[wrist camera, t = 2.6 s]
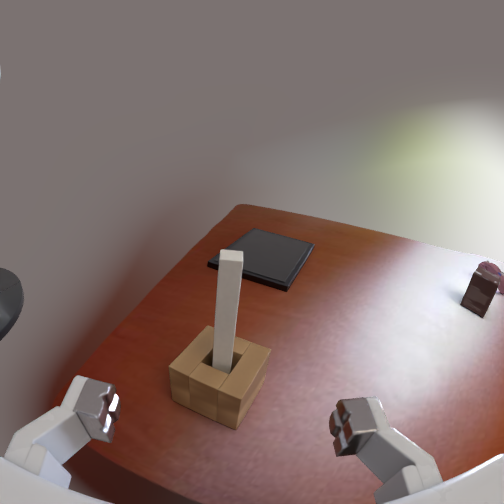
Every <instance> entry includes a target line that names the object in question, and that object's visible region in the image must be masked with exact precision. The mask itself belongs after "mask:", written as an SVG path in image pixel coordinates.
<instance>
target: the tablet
mask: <svg viewBox="0 0 504 504" xmlns="http://www.w3.org/2000/svg"><path fill="white" fill-rule="evenodd" d="M313 248H314V244H312V243H308V242H304V241H301V240H297V239H293V238H290V237H286V236H282V235H278V234H274V233H271V232H267V231H263V230H259V229H255V228H253V229H252V230H250V231H249V232H248V233H246V234H245V235H244V236H242V237H241V238H239V239H238V240H237V241H235V242H234V243H232V244H231V245H230V246H228V247H227V248H226V249H224V250H234V251H243V268H242V277H241V278H245V279H248V280H251V281H254V282H257V283H260V284H263V285H267V286H270V287H273V288H276V289H279V290H283V291H286V292H287V291H288V289H289V287H290V286H291V284H292V283H293V281H294V279H295V278H296V276H297V275H298V273H299V271H300V270H301V268H302V266H303V265H304V263H305V262H306V260H307V258H308V257H309V255H310V253H311V252H312V250H313ZM219 258H220V253H219V254H217V255H216V256H215V257H213V258H212V259H211V260H209V261H208V267H211V268H214V269H217V270H218V269H219Z"/></svg>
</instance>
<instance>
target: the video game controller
mask: <svg viewBox="0 0 504 504" xmlns="http://www.w3.org/2000/svg"><path fill="white" fill-rule="evenodd" d="M479 266H480V267H482V268H484V269H486V270H487V271H489V272H491V273H493V274H495V275H496V276H498V277H500V278H501V280H500V282H499V285H498V289H499V291H500V293H501V294H504V273H503V272H501V271H500V269H499V268H498V267H497V266H496V265H495V264H493V263H489V261H485V262H482V263H480V264H479ZM479 266H478V267H479Z"/></svg>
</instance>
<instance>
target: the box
mask: <svg viewBox="0 0 504 504" xmlns="http://www.w3.org/2000/svg"><path fill="white" fill-rule="evenodd" d="M500 280H501V278H500V277H498V276H496V275H495V274H493V273H491V272H489V271H487V270H486V269H484V268H482V267H480V266H479V267H478V268H477V269H476V271H475V272H474V273H473V275H472V278H471V281H470V283H469V286H468V288H467V290H466V293H465V295H464V297H463V299H462V302H461V305H463V306H464V307H466V308H468V309H470V310H471V311H473V312H475V313H476V314H478V315H480V316H481V317H484V315H485V313H486V311H487V309H488V307H489V305H490V303H491V301H492V299H493V297H494V295H495V292H496V290H497V288H498V285H499V282H500Z"/></svg>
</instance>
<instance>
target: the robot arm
mask: <svg viewBox="0 0 504 504" xmlns="http://www.w3.org/2000/svg"><path fill="white" fill-rule="evenodd" d="M0 78H1V68H0ZM115 393H116V388H115V385H114V384H109V383H105V382H101V381H97V380H93V379H90V378H86V377H82V376H78V375H77V376H76V377H75V378H74V379H73V381H72V383H71V385H70V387H69V389H68V391H67V393H66V396H65V398H64V400H63V402H62V404H61V406H60V407H58V406H56V407H55V408H53V409H52V410H50V411H49V412H47V413H45V414H44V415H42V416H40V417H39V418H37V419H36V420H34V421H32V422H31V423H29V424H28V425H26V426H24V427H23V428H21V429H19V430H18V431H16V432H15V434H14V436H13V438H12V440H11V442H10V444H9V447H8V449H7V451H6V454H5V456H4V458H2V457H1V456H0V504H113V503H109V502H106V501H102V500H99V499H96V498H92V497H90V496H87V495H84V494H81V493H78V492H75V491H72V490H70V489H68V487H69V483H70V480H71V475H70V474H69V472H67V471H66V469H65V468H64V467H63V466H62V464H63V463H65V462H66V461H67V460H68V459H69V458H70V457H72V456H73V455H74V454H75V453H76V452H77V451H78V450H79V449H80V448H82V447H83V446H84V445H85V444H86V443H87V442H89V441H90V440H91V438H93V439H97V440H101V441H105V442H109V443H111V442H112V439H113V435H114V432H115V427H114V425H113V423H114V422H116V421H117V420H118V419H119V415H120V408H121V405H120V400H119V397H118V396H117V395H115ZM336 407H337V409H336V410H335V411H333V412H332V414H331V416H330V420H329V428H330V433H331V434H332V435H333V436H334V437H335V440H334V442H333V445H334V449H335V453H336V457H338V456H347V455H355V454H357V455H356V456H357V457H358V458H359V459H360V460H361V461H362V462H363V463H364V464H365V465H366V466H367V467H368V468H369V469H370V470H371V471H372V472H373V473H374V474H375V475H376V476H377V477H378V478H379V479H380V480H381V481H382V482H383V483H384V484H383V485H382V486H381V487H379V488H378V489H377V490H376V491H375V492H374V497H375V501H376V504H504V454H499V455H497V456H495V457H493V458H491V459H490V460H488V461H486V462H484V463H482V464H480V465H479V466H477V467H475V468H473V469H471V470H469V471H467V472H465V473H463V474H461V475H458V476H456V477H454V478H452V479H450V480H447V481H445V482H443V480H442V477H441V475H440V472H439V470H438V467H437V465H436V463H435V460H434V458H433V457H432V456H431V455H429V454H428V453H427V452H425V451H424V450H423V449H421V448H420V447H419V446H417V445H416V444H415V443H413V442H412V441H410V440H409V439H408V438H406V437H405V436H404V435H403V434H401V433H400V432H399V431H397V430H396V429H395V428H390V425H389V423H388V420H387V418H386V415H385V413H384V410H383V408H382V406H381V403H380V401H379V398H377V397H376V396H373V397H366V398H363V397H362V398H352V399H342V400H339V401H338V403H337V404H336Z"/></svg>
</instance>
